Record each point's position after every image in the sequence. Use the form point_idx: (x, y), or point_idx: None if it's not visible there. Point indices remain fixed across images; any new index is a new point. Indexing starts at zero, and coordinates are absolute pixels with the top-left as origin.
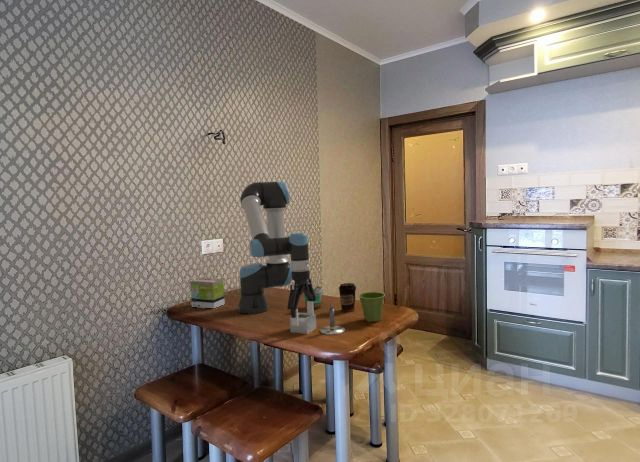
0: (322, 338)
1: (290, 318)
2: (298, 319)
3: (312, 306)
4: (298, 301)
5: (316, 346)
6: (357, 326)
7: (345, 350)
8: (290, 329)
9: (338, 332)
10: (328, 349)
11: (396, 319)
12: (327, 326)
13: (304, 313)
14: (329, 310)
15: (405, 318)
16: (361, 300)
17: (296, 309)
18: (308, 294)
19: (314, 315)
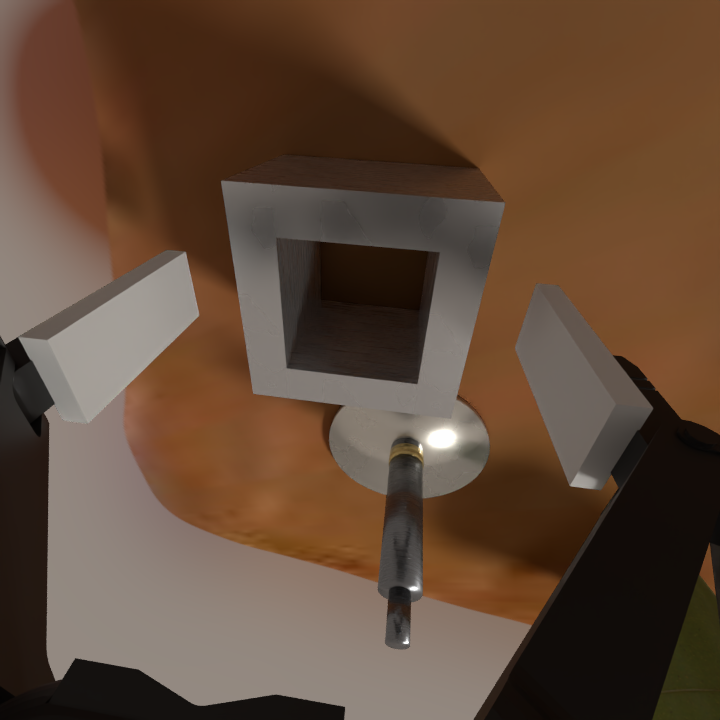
0: (262, 423)
1: (226, 193)
2: (243, 306)
3: (548, 426)
4: (46, 520)
5: (150, 424)
6: (506, 530)
7: (184, 518)
8: (276, 159)
9: (361, 481)
10: (154, 471)
11: None
12: (464, 412)
13: (465, 298)
14: (383, 574)
15: None
16: (672, 717)
17: (70, 413)
18: (534, 622)
19: (422, 410)
